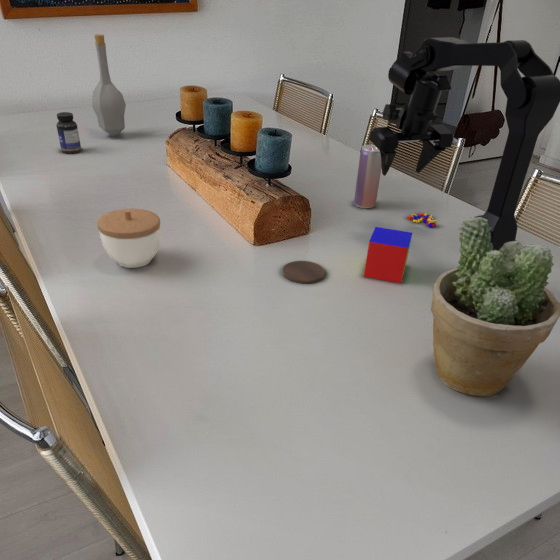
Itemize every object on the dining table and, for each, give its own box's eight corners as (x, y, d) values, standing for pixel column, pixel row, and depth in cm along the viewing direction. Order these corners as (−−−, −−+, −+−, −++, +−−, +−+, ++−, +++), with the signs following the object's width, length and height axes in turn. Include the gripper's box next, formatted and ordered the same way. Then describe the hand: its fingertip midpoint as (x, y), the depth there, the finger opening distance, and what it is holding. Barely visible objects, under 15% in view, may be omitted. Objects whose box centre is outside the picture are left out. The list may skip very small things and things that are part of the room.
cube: (363, 276, 116) (369, 241, 111) (370, 260, 122) (375, 226, 117) (401, 283, 115) (408, 248, 110) (405, 266, 121) (412, 232, 116)
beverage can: (350, 206, 147) (357, 148, 138) (358, 199, 151) (365, 142, 142) (371, 210, 145) (379, 152, 136) (378, 203, 149) (387, 147, 140)
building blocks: (426, 214, 145) (427, 207, 144) (442, 226, 139) (444, 219, 138) (405, 216, 143) (406, 210, 142) (420, 228, 137) (422, 222, 136)
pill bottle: (60, 149, 174) (52, 112, 168) (79, 147, 177) (73, 110, 170) (63, 154, 170) (55, 117, 163) (83, 153, 172) (76, 115, 165)
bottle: (137, 136, 189) (125, 35, 170) (113, 143, 182) (98, 38, 163) (113, 130, 194) (99, 31, 175) (89, 137, 186) (72, 34, 167)
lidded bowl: (173, 252, 121) (169, 204, 114) (147, 278, 112) (141, 227, 105) (122, 243, 124) (114, 196, 117) (92, 268, 114) (82, 218, 107)
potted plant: (536, 366, 94) (595, 229, 78) (514, 429, 81) (578, 281, 65) (434, 332, 101) (469, 200, 85) (398, 385, 88) (431, 242, 72)
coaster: (314, 287, 112) (314, 284, 111) (275, 276, 115) (275, 273, 114) (331, 269, 118) (331, 267, 118) (293, 259, 121) (293, 257, 121)
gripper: (439, 87, 122) (416, 153, 134) (366, 89, 116) (350, 158, 128) (466, 109, 116) (440, 177, 127) (391, 112, 110) (371, 183, 121)
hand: (400, 173), depth 126 cm, fingers open, 9 cm apart
